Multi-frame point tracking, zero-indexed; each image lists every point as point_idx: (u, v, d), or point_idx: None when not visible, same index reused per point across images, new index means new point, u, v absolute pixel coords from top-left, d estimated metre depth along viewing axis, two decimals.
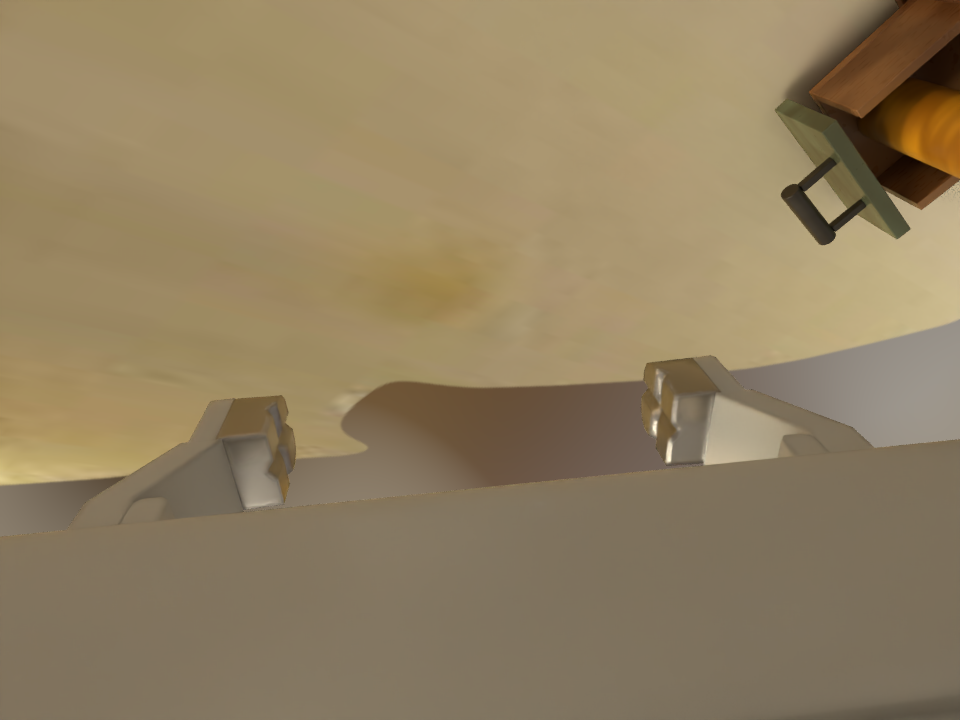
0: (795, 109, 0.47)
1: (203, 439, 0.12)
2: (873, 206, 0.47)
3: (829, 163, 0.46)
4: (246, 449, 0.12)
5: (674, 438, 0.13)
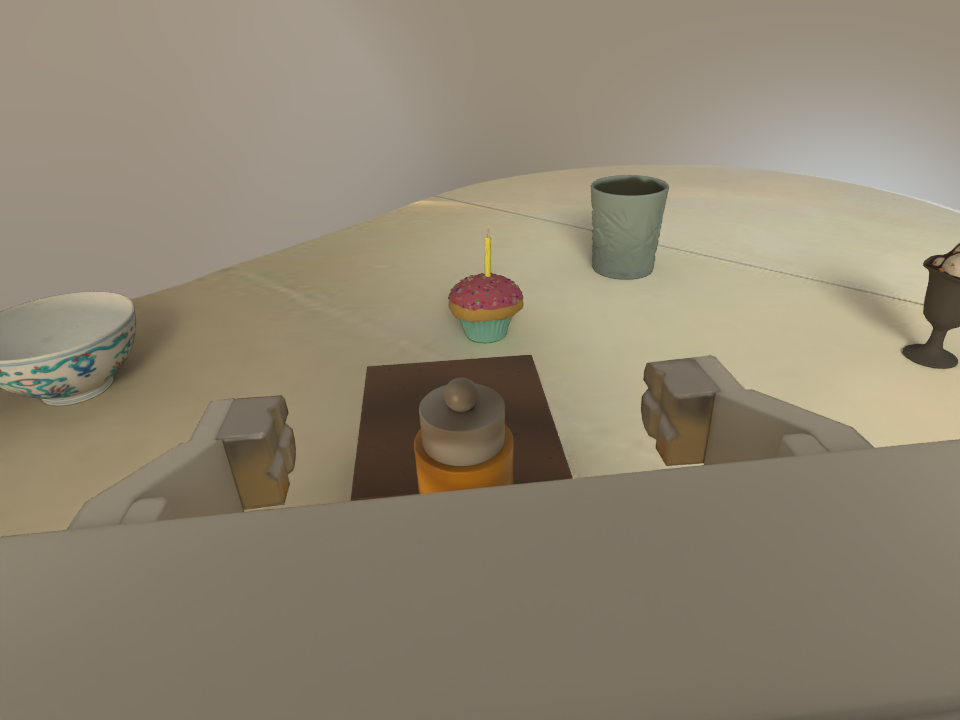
0: None
1: (203, 439, 0.12)
2: None
3: None
4: (246, 449, 0.12)
5: (674, 438, 0.13)
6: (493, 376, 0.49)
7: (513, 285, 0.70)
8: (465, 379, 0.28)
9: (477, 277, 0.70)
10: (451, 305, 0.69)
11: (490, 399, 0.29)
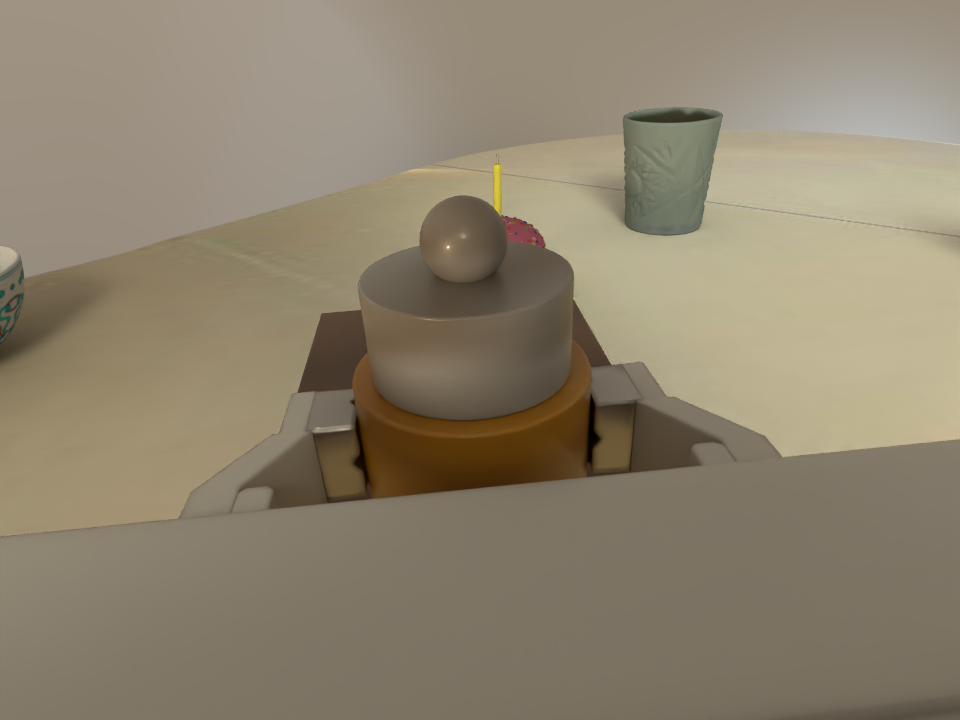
0: None
1: (293, 431, 0.12)
2: None
3: None
4: (334, 441, 0.12)
5: (598, 446, 0.13)
6: None
7: (532, 228, 0.53)
8: (473, 197, 0.11)
9: None
10: None
11: (535, 260, 0.12)
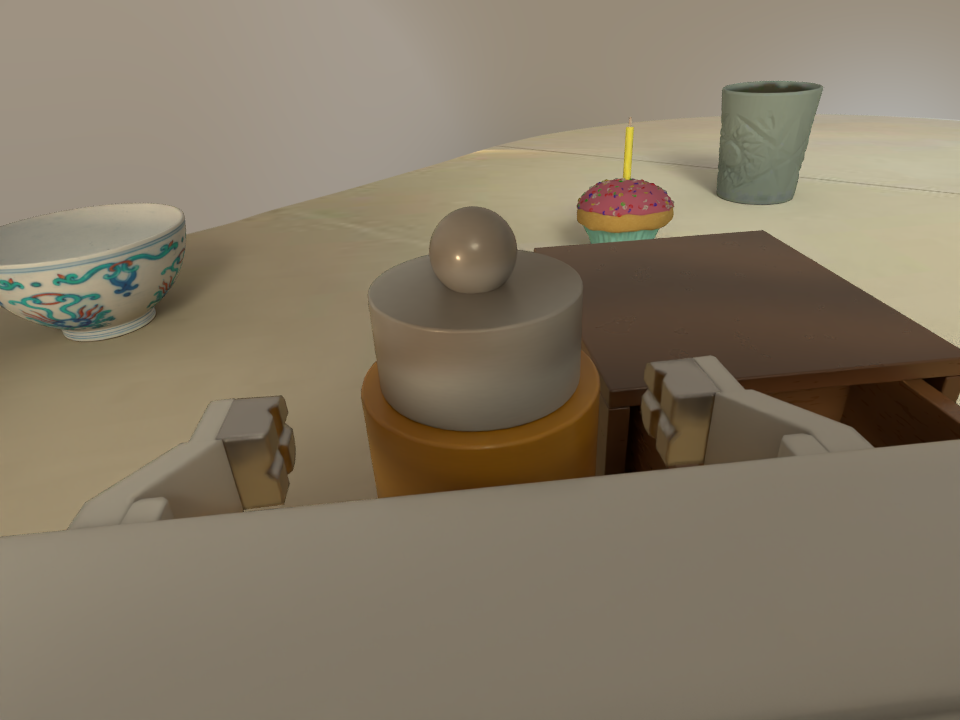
0: None
1: (203, 439, 0.12)
2: None
3: None
4: (246, 449, 0.12)
5: (674, 438, 0.13)
6: (727, 251, 0.33)
7: (661, 189, 0.55)
8: (483, 208, 0.11)
9: (614, 180, 0.55)
10: (584, 215, 0.54)
11: (544, 270, 0.12)
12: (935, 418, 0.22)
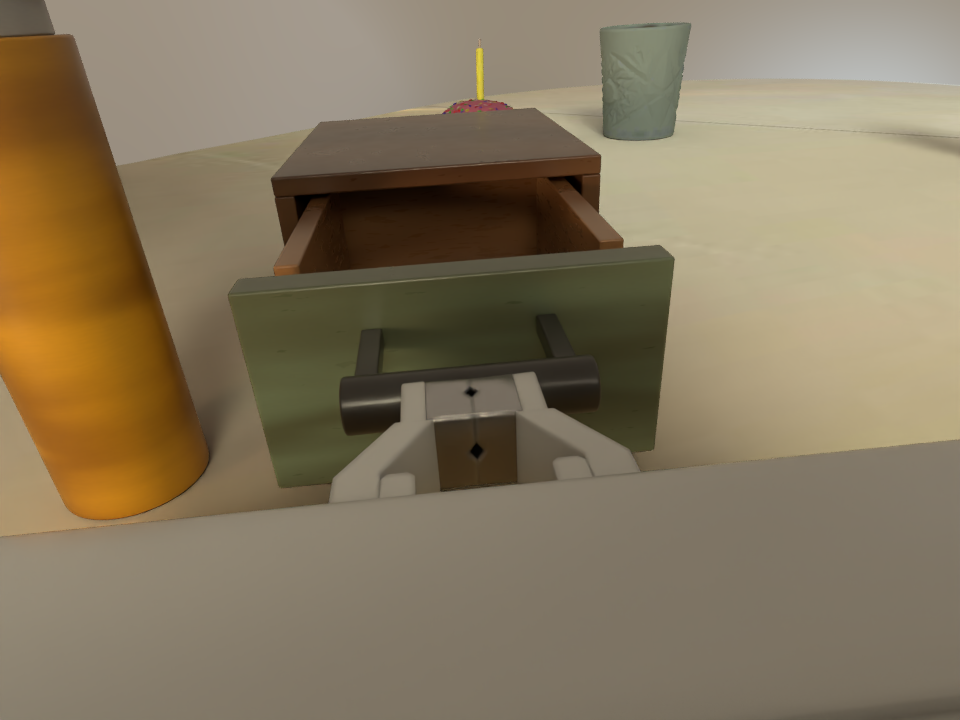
0: None
1: (415, 419, 0.12)
2: (531, 272, 0.17)
3: (362, 335, 0.17)
4: (453, 429, 0.12)
5: (482, 457, 0.13)
6: (484, 118, 0.36)
7: (511, 108, 0.58)
8: None
9: (468, 101, 0.58)
10: None
11: None
12: (555, 199, 0.26)
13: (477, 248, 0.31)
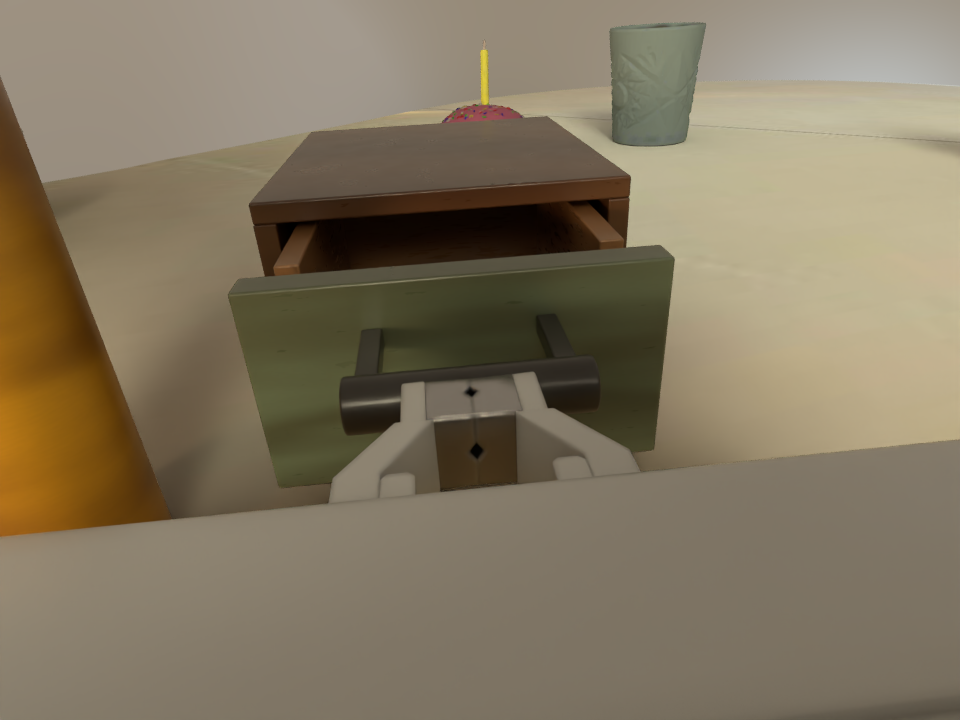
0: None
1: (415, 419, 0.12)
2: (531, 272, 0.17)
3: (362, 335, 0.17)
4: (453, 429, 0.12)
5: (482, 457, 0.13)
6: (492, 128, 0.33)
7: (518, 113, 0.54)
8: None
9: None
10: None
11: None
12: None
13: (477, 248, 0.31)
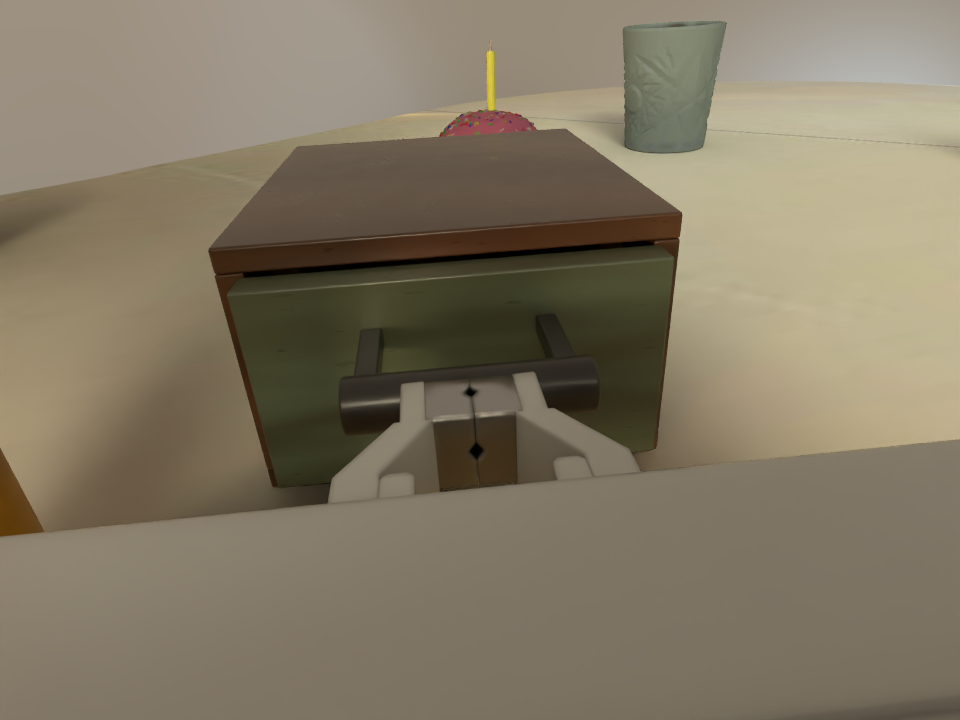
0: None
1: (414, 419, 0.12)
2: (530, 272, 0.17)
3: (362, 335, 0.17)
4: (452, 429, 0.12)
5: (482, 457, 0.13)
6: (504, 143, 0.29)
7: (527, 120, 0.50)
8: None
9: None
10: None
11: None
12: None
13: None
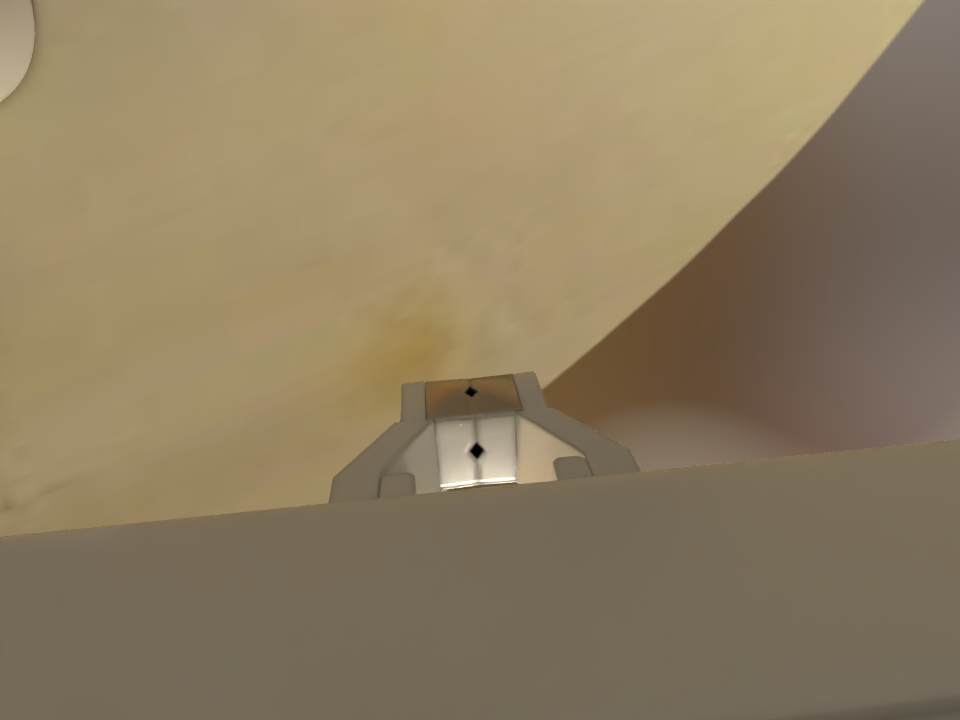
0: None
1: (415, 419, 0.12)
2: None
3: None
4: (453, 429, 0.12)
5: (482, 457, 0.13)
6: None
7: None
8: None
9: None
10: None
11: None
12: None
13: None
